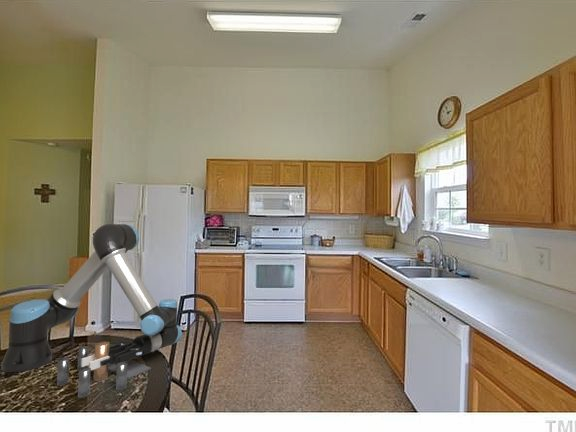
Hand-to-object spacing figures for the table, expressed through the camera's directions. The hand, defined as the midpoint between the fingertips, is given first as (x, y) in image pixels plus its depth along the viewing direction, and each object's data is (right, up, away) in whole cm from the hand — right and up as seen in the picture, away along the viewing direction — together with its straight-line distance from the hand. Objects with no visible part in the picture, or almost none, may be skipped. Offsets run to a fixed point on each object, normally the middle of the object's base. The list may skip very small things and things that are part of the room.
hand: (85, 364), depth 106 cm
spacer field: (0, -7, +1) cm, 7 cm away
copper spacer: (+3, -7, +4) cm, 8 cm away
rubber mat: (+7, -7, +12) cm, 16 cm away
